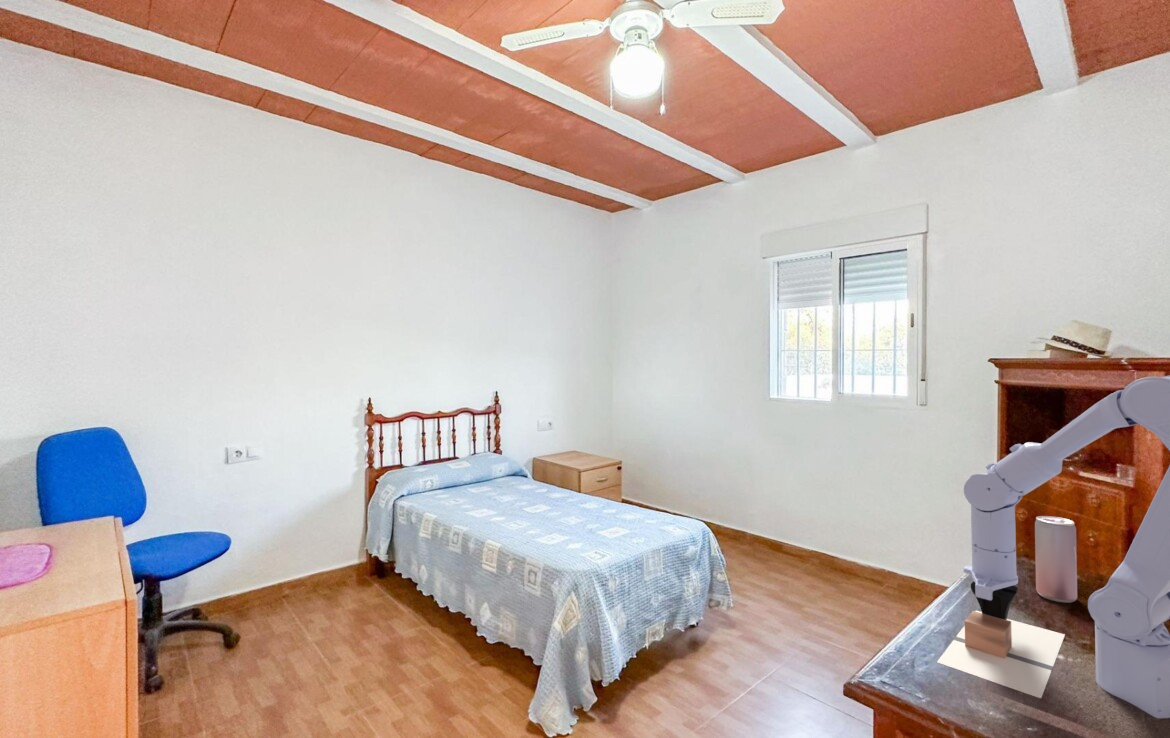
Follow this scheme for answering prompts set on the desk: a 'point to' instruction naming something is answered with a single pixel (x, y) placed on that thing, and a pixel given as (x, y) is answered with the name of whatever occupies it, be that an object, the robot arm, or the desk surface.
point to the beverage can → (1056, 558)
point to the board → (1010, 659)
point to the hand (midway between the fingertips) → (994, 629)
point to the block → (988, 634)
